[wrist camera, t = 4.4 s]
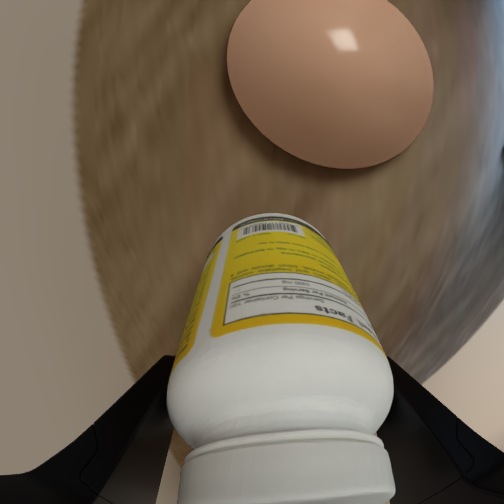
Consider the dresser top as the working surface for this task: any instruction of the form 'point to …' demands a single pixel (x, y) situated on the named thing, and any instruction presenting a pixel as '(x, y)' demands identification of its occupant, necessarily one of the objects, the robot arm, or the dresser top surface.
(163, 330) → the dresser top surface
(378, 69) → the tan round disc
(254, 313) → the pill bottle
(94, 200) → the dresser top surface
